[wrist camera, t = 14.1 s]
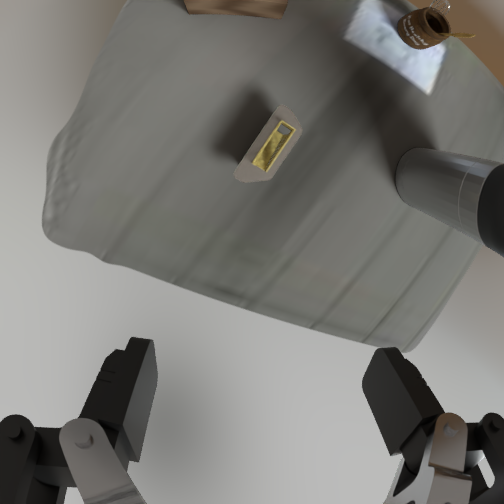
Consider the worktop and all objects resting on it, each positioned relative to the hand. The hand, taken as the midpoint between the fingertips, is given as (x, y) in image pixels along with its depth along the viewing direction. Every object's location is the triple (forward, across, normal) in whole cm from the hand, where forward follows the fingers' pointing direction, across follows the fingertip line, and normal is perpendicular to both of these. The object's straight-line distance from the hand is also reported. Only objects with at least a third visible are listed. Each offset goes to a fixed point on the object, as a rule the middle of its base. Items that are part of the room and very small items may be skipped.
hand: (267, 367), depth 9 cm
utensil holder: (+30, -22, -30) cm, 47 cm away
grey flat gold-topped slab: (+30, -2, -7) cm, 31 cm away
